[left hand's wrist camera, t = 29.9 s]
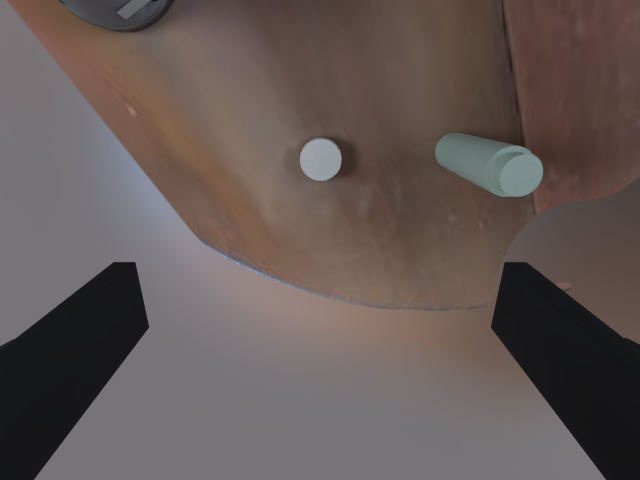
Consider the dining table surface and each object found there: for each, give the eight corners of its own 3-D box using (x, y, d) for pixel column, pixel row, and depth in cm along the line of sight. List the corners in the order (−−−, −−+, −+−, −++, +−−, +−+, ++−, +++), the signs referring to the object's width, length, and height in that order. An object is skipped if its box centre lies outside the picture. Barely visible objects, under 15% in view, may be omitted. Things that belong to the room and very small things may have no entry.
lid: (315, 127, 45) (315, 129, 43) (349, 152, 46) (350, 155, 44) (292, 162, 46) (291, 165, 44) (325, 185, 47) (325, 189, 45)
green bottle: (466, 169, 47) (539, 204, 31) (431, 167, 47) (488, 200, 31) (474, 133, 45) (556, 150, 29) (438, 130, 45) (502, 146, 29)
